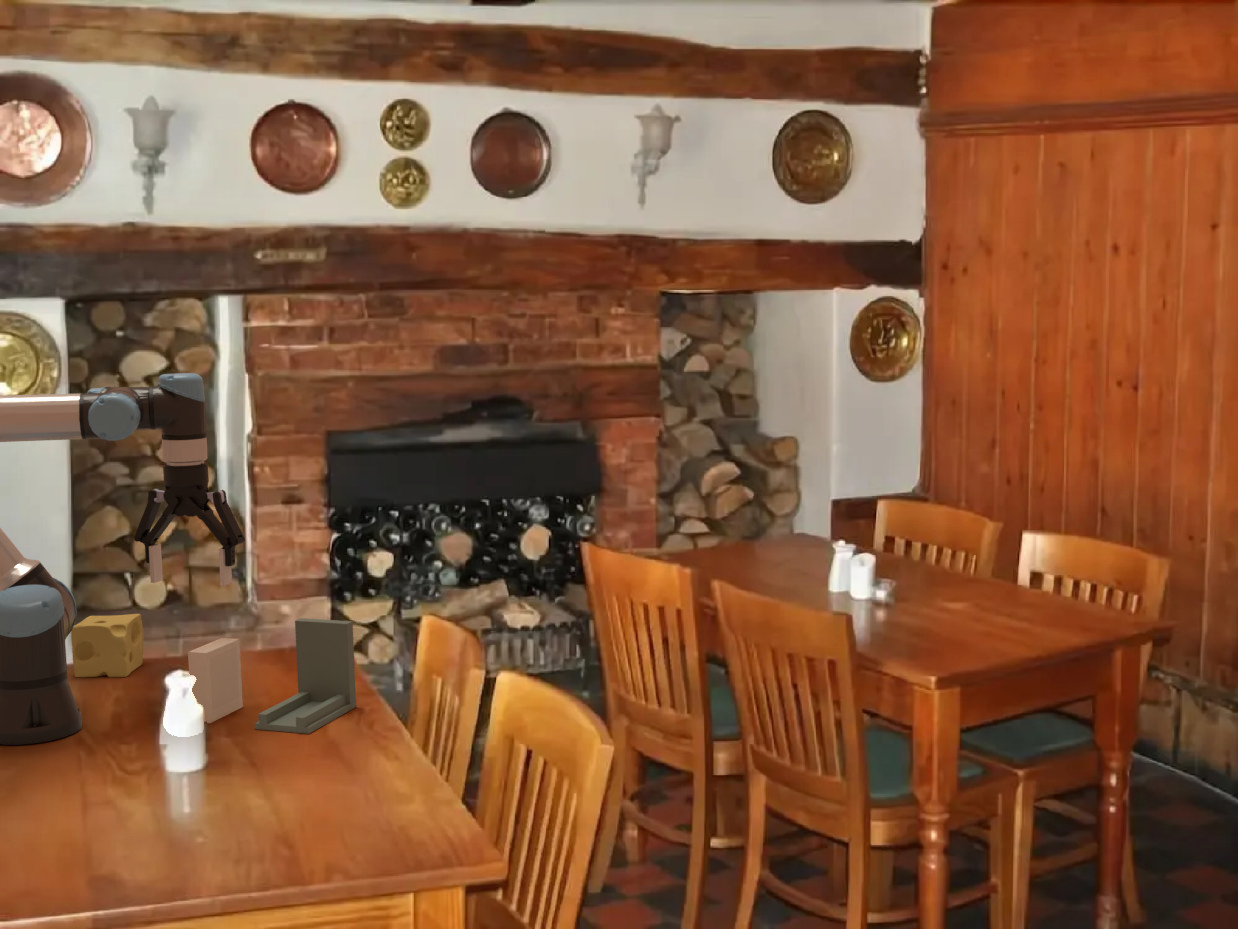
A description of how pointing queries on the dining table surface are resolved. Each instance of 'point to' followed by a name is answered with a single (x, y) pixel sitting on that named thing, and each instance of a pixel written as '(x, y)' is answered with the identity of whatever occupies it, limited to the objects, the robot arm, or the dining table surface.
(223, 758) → the dining table surface
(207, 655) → the door
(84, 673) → the cheese
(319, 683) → the track
